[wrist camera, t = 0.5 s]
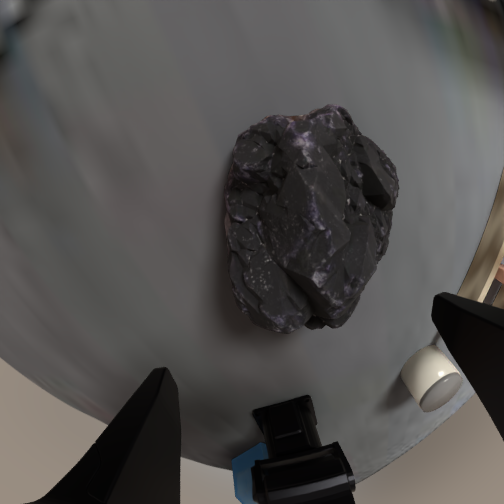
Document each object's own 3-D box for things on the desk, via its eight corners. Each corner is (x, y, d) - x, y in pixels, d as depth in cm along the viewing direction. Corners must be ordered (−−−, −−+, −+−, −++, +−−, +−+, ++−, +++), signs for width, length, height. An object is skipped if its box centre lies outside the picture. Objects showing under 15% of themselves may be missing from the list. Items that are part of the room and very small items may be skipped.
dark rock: (353, 87, 19) (422, 57, 10) (406, 245, 23) (475, 301, 14) (186, 155, 21) (138, 166, 11) (262, 307, 25) (268, 395, 16)
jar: (436, 369, 32) (457, 397, 27) (398, 387, 32) (417, 419, 27) (442, 337, 30) (468, 367, 24) (402, 357, 30) (425, 391, 24)
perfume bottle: (231, 459, 34) (240, 533, 23) (260, 442, 33) (275, 522, 22) (264, 467, 36) (277, 534, 25) (294, 450, 35) (312, 522, 24)
